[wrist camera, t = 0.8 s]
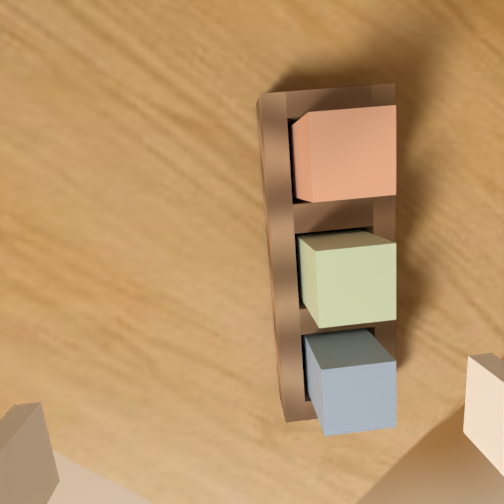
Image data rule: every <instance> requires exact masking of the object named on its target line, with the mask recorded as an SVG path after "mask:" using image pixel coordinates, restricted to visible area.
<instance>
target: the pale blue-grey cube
mask: <svg viewBox="0 0 504 504" xmlns="http://www.w3.org/2000/svg"><path fill="white" fill-rule="evenodd" d="M303 346H304V362H305V378H306V388H307V390H308V393H309V396H310V398H311V401H312V404H313V406H314V409H315V412H316V414H317V417H318V420H319V422H320V425H321V428H322V430H323V433H324V436H330V435H338V434H346V433H354V432H362V431H370V430H377V429H385V428H393V427H396V360H395V359H394V358H393V357H392V356H391V355H390V354H389V353H388V351H387V350H386V349H385V348H384V347H383V346H382V345H381V344H380V343H379V342H378V341H377V340H376V338H375V337H374V336H373V335H372V334H371V333H370V332H369V331H368V330H367V329H366V328H358V329H349V330H340V331H331V332H323V333H314V334H305V335H303Z"/></svg>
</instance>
